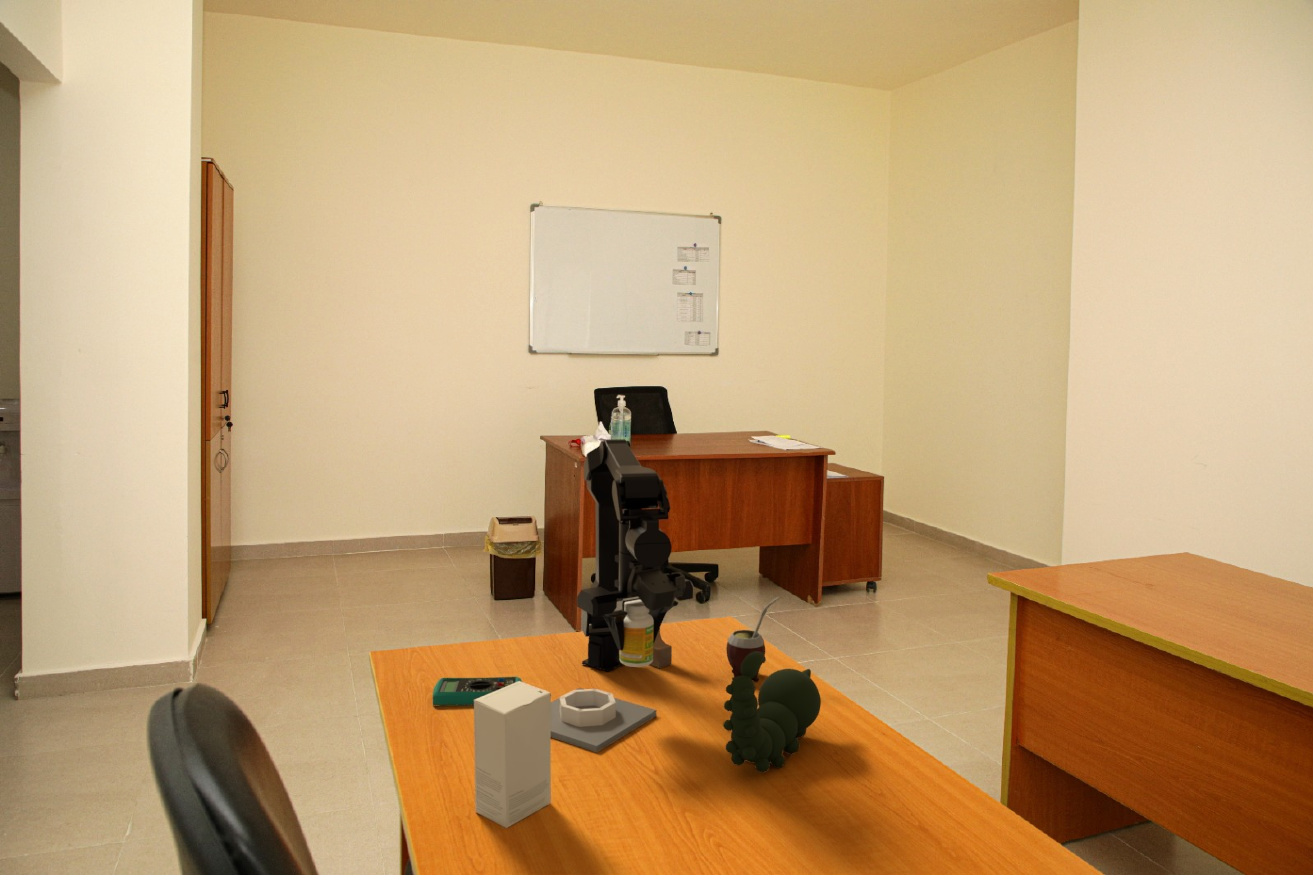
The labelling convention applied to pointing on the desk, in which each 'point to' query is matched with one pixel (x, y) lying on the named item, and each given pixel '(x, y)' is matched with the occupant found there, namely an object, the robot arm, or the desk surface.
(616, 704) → the ring holder
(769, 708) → the toy figurine
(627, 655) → the supplement bottle
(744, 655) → the mate gourd
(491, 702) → the skincare box
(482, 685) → the digital multimeter
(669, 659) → the wooden block
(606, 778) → the desk surface
